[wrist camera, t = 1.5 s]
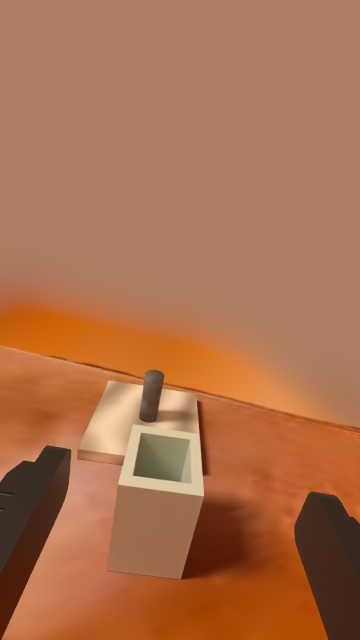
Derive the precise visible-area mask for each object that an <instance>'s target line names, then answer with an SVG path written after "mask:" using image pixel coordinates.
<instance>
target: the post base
mask: <svg viewBox="0 0 360 640" xmlns="http://www.w3.org/2000/svg"><path fill="white" fill-rule="evenodd" d="M163 380H164V374H163V373H162V372H160V371H157V370H149V371H147V372H146V373H145V379H144V386H141V385H135V384H128V383H122V382H115V381H109V382H108V384H107V387H106V389H105V391H104V393H103V395H102V398H101V400H100V402H99V404H98V406H97V408H96V411H95V413H94V415H93V417H92V419H91V421H90V424H89V426H88V428H87V430H86V432H85V435H84V437H83V439H82V441H81V443H80V445H79V448H78V454H77V459H83V460H90V461H97V462H104V463H111V464H119V465H123V463H124V459H125V455H126V451H127V446H128V442H129V438H130V434H131V430H132V426H133V424H134V425H141V426H148V427H155V428H162V429H168V430H175V431H182V432H189V433H196V434H199V422H198V410H197V398H196V394H193V393H186V392H180V391H173V390H167V389H162V386H163ZM199 438H200V435H199ZM200 451H201V447H200ZM201 464H202V460H201Z"/></svg>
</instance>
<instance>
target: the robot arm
mask: <svg viewBox="0 0 360 640" xmlns="http://www.w3.org/2000/svg"><path fill="white" fill-rule="evenodd" d="M70 461H71V450H70V449H66V448H60V447H54V446H46V447H45V448H44V449H43V451H42V452H41V454H40V455H39V457H38V458H37V460H36V461H35V462H30V461H23V462H21V463H20V464H19V465H17V466H16V467H15V468H13V469H12V470H11V471H9V472H8V473H7V474H6V475H5V476H4V478H3V479H2V480H1V482H0V640H1V639H2V637H3V635H4V632H5V630H6V628H7V626H8V624H9V621H10V619H11V617H12V615H13V613H14V610H15V608H16V606H17V604H18V602H19V599H20V597H21V595H22V593H23V591H24V589H25V586H26V584H27V582H28V580H29V578H30V575H31V573H32V571H33V569H34V567H35V564H36V562H37V560H38V558H39V556H40V553H41V551H42V549H43V547H44V545H45V542H46V540H47V538H48V536H49V534H50V531H51V529H52V527H53V525H54V523H55V521H56V518H57V516H58V514H59V512H60V510H61V507H62V505H63V503H64V500H65V497H66V493H67V490H68V485H69V473H70ZM294 532H295V542H296V546H297V549H298V552H299V555H300V557H301V560H302V563H303V566H304V569H305V572H306V575H307V578H308V581H309V584H310V587H311V590H312V592H313V595H314V598H315V601H316V604H317V607H318V610H319V613H320V616H321V619H322V622H323V625H324V627H325V630H326V633H327V636H328V639H329V640H360V524H359V523H358V522H357V520H356V519H355V518H354V517H349V515H348V514H347V512H346V510H345V508H344V506H343V505H342V503H341V501H340V500H339V499H338V497H336V496H335V495H329V494H323V493H317V492H310V493H309V494H308V496H307V498H306V501H305V503H304V505H303V507H302V510H301V512H300V514H299V516H298V519H297V521H296V523H295V531H294Z"/></svg>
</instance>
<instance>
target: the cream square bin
mask: <svg viewBox="0 0 360 640" xmlns="http://www.w3.org/2000/svg"><path fill="white" fill-rule="evenodd" d="M203 498H204V489H203V476H202V464H201V451H200V438H199V434H196V433H189V432H182V431H175V430H168V429H162V428H155V427H148V426H141V425H134V424H133V426H132V430H131V434H130V438H129V442H128V446H127V451H126V455H125V459H124V463H123V467H122V471H121V475H120V479H119V483H118V490H117V497H116V505H115V512H114V519H113V527H112V534H111V542H110V549H109V557H108V564H107V571H114V572H122V573H131V574H139V575H147V576H156V577H164V578H173V579H181V577H182V573H183V570H184V566H185V563H186V559H187V555H188V552H189V548H190V545H191V541H192V538H193V534H194V530H195V527H196V523H197V520H198V516H199V513H200V509H201V505H202V502H203Z"/></svg>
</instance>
